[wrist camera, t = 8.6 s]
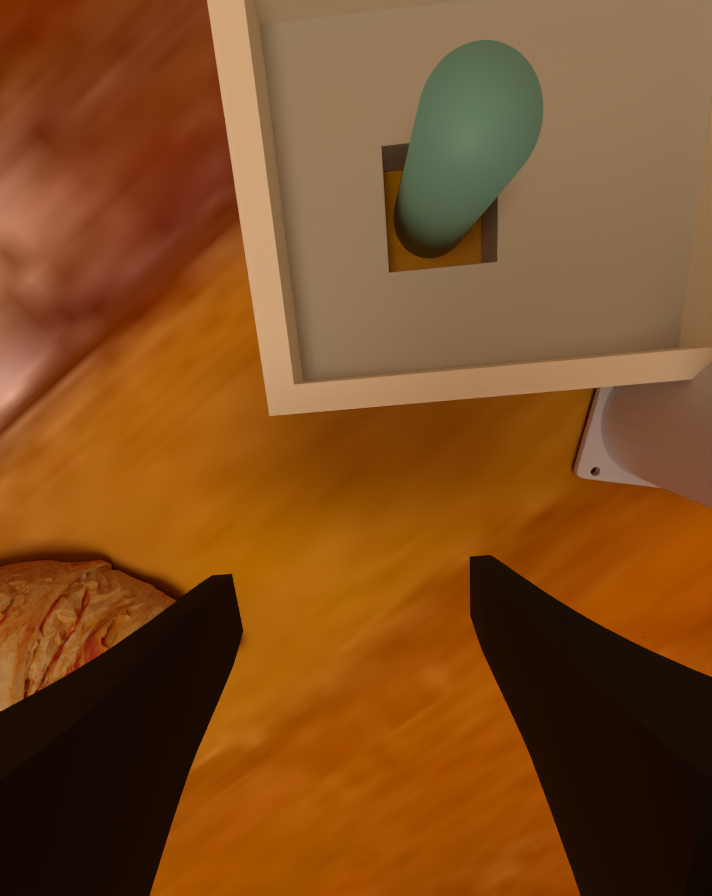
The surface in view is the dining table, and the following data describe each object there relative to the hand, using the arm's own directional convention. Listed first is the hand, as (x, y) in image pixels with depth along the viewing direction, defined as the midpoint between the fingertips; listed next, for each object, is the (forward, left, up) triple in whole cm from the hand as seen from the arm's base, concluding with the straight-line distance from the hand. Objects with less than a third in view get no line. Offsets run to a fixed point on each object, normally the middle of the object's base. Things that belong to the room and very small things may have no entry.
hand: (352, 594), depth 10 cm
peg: (-2, -14, -10) cm, 17 cm away
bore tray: (-4, -14, -10) cm, 18 cm away
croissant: (+17, +12, -10) cm, 23 cm away
